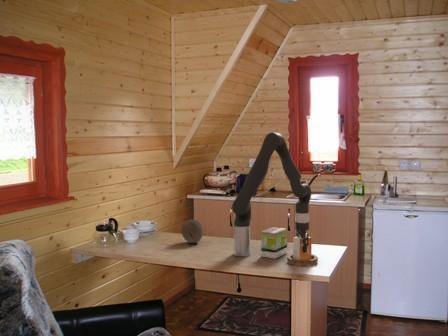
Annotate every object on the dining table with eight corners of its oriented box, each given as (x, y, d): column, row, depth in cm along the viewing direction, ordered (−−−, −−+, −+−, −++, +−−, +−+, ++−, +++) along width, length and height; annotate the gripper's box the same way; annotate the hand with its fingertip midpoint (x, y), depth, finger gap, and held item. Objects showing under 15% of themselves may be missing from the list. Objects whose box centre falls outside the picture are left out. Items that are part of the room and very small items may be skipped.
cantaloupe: (208, 242, 317) (207, 219, 315) (192, 246, 306) (192, 223, 305) (192, 239, 326) (191, 217, 324) (176, 243, 315) (176, 220, 314)
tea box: (276, 259, 275) (276, 233, 274) (260, 256, 280) (260, 231, 279) (287, 252, 288) (287, 228, 286) (272, 250, 293) (272, 226, 292)
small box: (299, 263, 263) (299, 239, 262) (292, 260, 268) (292, 236, 267) (311, 261, 266) (311, 237, 265) (304, 258, 272) (304, 235, 271)
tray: (292, 267, 259) (292, 261, 258) (284, 259, 274) (284, 254, 274) (321, 265, 261) (321, 260, 261) (311, 257, 277) (311, 252, 277)
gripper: (291, 218, 272) (291, 247, 274) (299, 223, 258) (299, 254, 260) (304, 218, 273) (304, 246, 275) (313, 223, 259) (313, 253, 261)
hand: (302, 250), depth 267 cm, fingers open, 8 cm apart
